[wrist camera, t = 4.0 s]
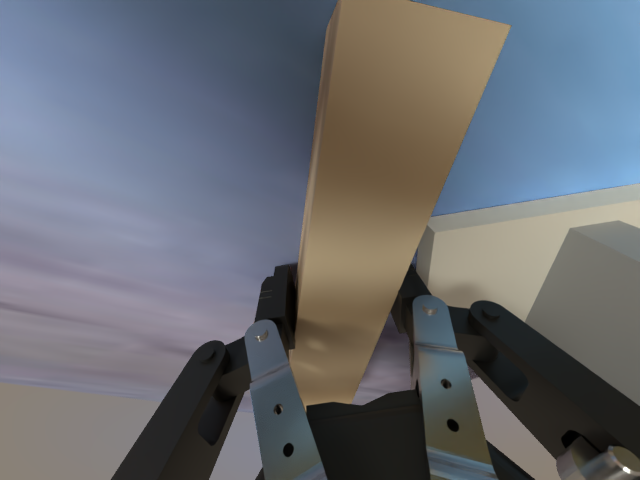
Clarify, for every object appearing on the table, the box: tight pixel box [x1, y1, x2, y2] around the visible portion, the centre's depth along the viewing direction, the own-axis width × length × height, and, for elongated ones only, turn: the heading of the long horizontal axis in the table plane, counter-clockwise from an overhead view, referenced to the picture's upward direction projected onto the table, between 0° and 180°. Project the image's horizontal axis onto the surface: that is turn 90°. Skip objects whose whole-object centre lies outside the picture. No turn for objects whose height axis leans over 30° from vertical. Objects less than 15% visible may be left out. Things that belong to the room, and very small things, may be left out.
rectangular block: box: [289, 0, 512, 410], centre depth 12 cm, size 20×4×4 cm, turn 172°
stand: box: [416, 183, 640, 406], centre depth 11 cm, size 16×10×10 cm, turn 98°
